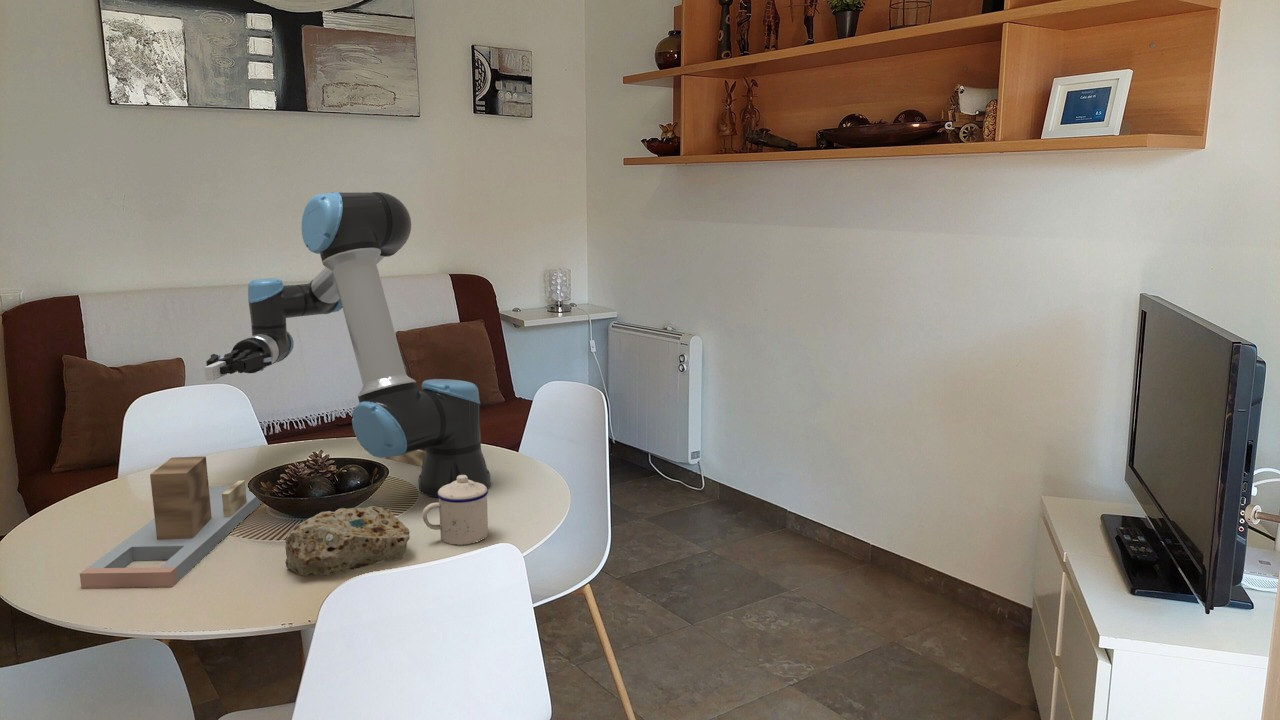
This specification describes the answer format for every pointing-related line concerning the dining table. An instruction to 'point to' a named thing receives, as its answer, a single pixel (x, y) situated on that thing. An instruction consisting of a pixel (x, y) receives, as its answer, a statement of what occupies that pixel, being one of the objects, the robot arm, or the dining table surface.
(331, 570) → the rock
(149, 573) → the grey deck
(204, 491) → the walnut block
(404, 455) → the oak coaster frame
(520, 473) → the dining table surface
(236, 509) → the beech tunnel walls
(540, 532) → the dining table surface
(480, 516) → the teacup with lid
